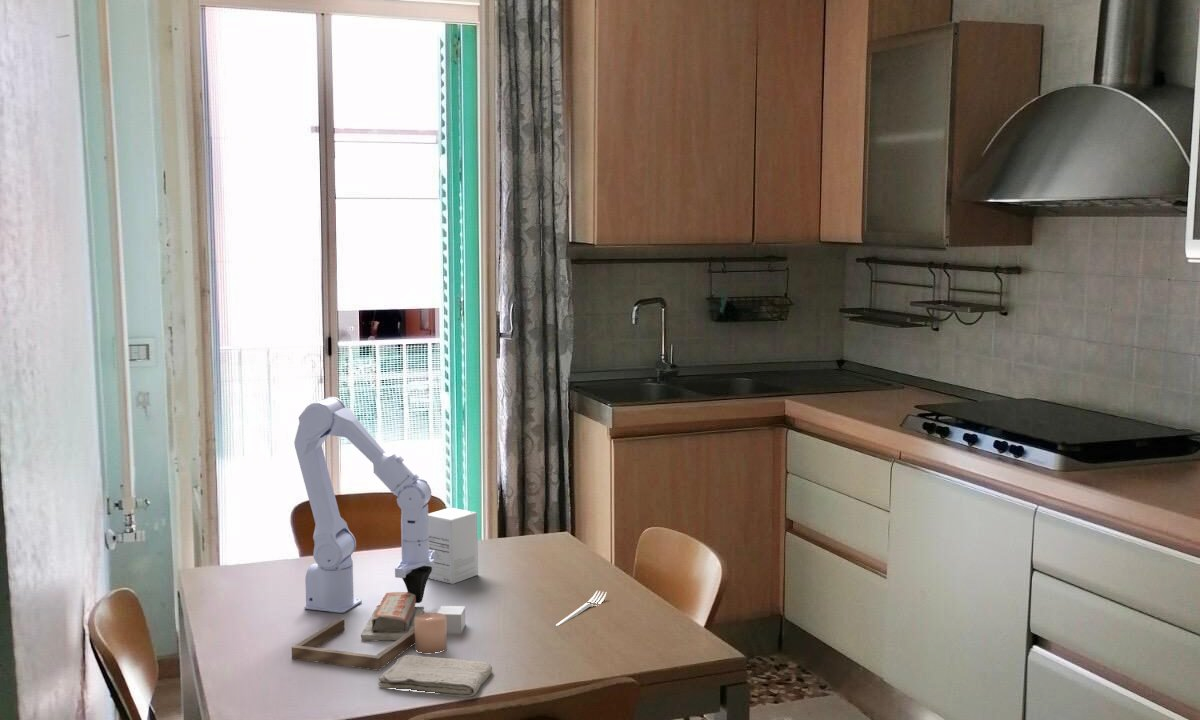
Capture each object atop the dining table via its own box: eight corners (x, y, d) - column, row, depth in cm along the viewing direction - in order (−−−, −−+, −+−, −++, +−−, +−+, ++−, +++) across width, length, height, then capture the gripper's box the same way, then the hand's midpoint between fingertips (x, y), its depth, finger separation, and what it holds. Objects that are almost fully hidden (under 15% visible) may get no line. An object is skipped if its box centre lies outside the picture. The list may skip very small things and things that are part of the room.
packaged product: (376, 589, 235) (424, 589, 235) (376, 612, 236) (424, 612, 236) (359, 618, 217) (411, 618, 217) (360, 642, 218) (411, 642, 218)
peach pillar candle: (409, 652, 212) (408, 621, 211) (423, 641, 218) (423, 611, 217) (438, 655, 210) (437, 624, 210) (452, 644, 216) (451, 614, 215)
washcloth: (400, 666, 206) (399, 650, 206) (494, 674, 203) (494, 657, 202) (375, 692, 194) (375, 675, 194) (475, 700, 191) (475, 683, 191)
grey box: (436, 633, 222) (435, 614, 222) (440, 625, 227) (440, 605, 227) (461, 634, 222) (461, 614, 222) (465, 625, 227) (465, 606, 227)
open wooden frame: (291, 658, 208) (291, 647, 208) (339, 629, 224) (338, 618, 224) (378, 670, 203) (378, 658, 203) (420, 639, 219) (420, 628, 218)
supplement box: (450, 568, 266) (450, 506, 264) (479, 575, 261) (478, 511, 259) (423, 577, 258) (422, 513, 257) (452, 584, 253) (451, 519, 252)
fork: (549, 628, 227) (549, 619, 227) (595, 598, 245) (595, 589, 245) (563, 631, 226) (563, 621, 226) (608, 600, 243) (608, 592, 243)
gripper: (416, 549, 227) (417, 614, 228) (447, 531, 240) (448, 593, 242) (385, 546, 229) (386, 611, 230) (417, 528, 243) (418, 590, 244)
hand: (416, 601), depth 236 cm, fingers closed
